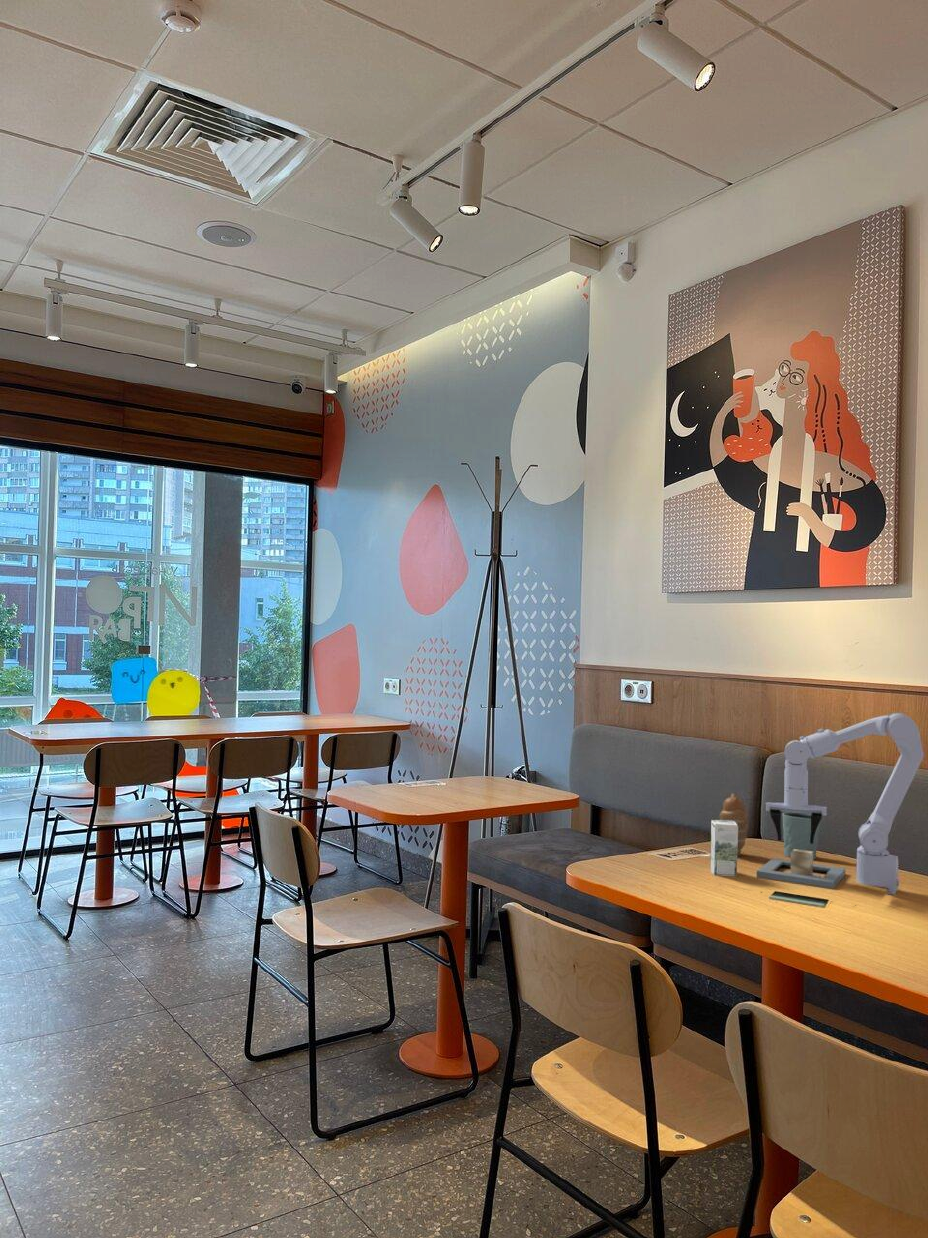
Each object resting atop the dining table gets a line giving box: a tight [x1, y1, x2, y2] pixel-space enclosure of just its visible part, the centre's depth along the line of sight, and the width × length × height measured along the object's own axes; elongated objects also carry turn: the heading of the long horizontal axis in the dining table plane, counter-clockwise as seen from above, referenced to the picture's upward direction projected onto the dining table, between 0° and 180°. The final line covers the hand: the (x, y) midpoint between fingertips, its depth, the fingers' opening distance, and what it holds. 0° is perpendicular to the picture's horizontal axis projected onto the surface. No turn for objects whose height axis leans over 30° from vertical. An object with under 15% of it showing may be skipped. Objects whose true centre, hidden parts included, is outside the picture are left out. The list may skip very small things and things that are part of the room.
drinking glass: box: [781, 812, 821, 861], centre depth 259 cm, size 10×10×12 cm
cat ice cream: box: [719, 792, 749, 857], centre depth 253 cm, size 9×8×18 cm
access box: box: [756, 857, 846, 890], centre depth 230 cm, size 18×18×3 cm
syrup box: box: [709, 819, 738, 877], centre depth 230 cm, size 6×6×14 cm
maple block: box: [790, 849, 814, 876], centre depth 230 cm, size 4×4×6 cm
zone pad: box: [768, 890, 830, 908], centre depth 214 cm, size 12×10×1 cm
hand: (795, 841), depth 232 cm, fingers open, 7 cm apart
